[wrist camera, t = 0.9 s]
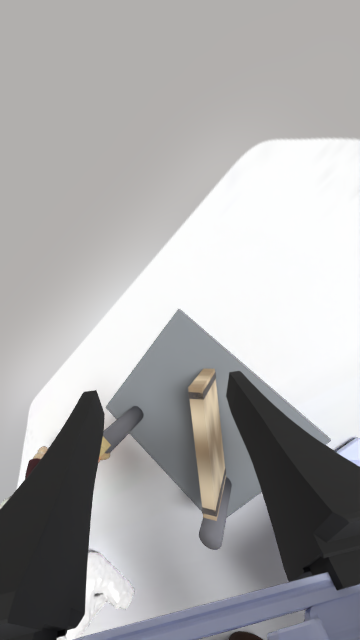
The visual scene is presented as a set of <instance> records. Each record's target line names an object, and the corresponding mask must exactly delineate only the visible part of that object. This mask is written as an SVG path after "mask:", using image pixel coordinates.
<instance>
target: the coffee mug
mask: <svg viewBox="0 0 360 640" xmlns="http://www.w3.org/2000/svg"><path fill="white" fill-rule="evenodd" d="M229 640H263V639H261V638H260V637H258V636H256V635H254V634H251V633H248V632H241V631H239V632H235V633H233V634H232V635H231V636H230V638H229Z"/></svg>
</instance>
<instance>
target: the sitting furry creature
mask: <svg viewBox="0 0 360 640" xmlns="http://www.w3.org/2000/svg"><path fill="white" fill-rule="evenodd" d="M134 593H135V591H134V588H133V587H132V585H131V584H130V583H129V580H127V579H126V578H125V577H124V576H123V575H122V574H121V573H120V572H119V571H118V570H117V569H116V568H115V567H114V566H113V565H112V564H111V563H110V562H108V561H107V560H106V558H105V557H104V556H103V555H102V554H101V553H98V552H93V553H92V552H89V553H88V562H87V579H86V600H85V615H84V617H83V618H82V620H81V622H80V623H79V625H78V626H77V627H76V628H74V629H70V630H67V634H66V636H62V637H58V638H57V640H72V639H76V638H79V637H80V636H81V635H82V634H83V632H84V631H85V630H86V628H87V627H88V626H89V624H90V622H91V621H92V620H93V618H94V617H95V616H96V615H97V614H98V612H99V611H100V610H101V608H102V607H103V606H104V605H105V602H107V601H108V602H109V604H112V605H113V606H115V608H116V609H119V608H121V609H124V610H126V609H127V608H128V606H129V605H130V603H131V600H132V598H133V596H134Z"/></svg>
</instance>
